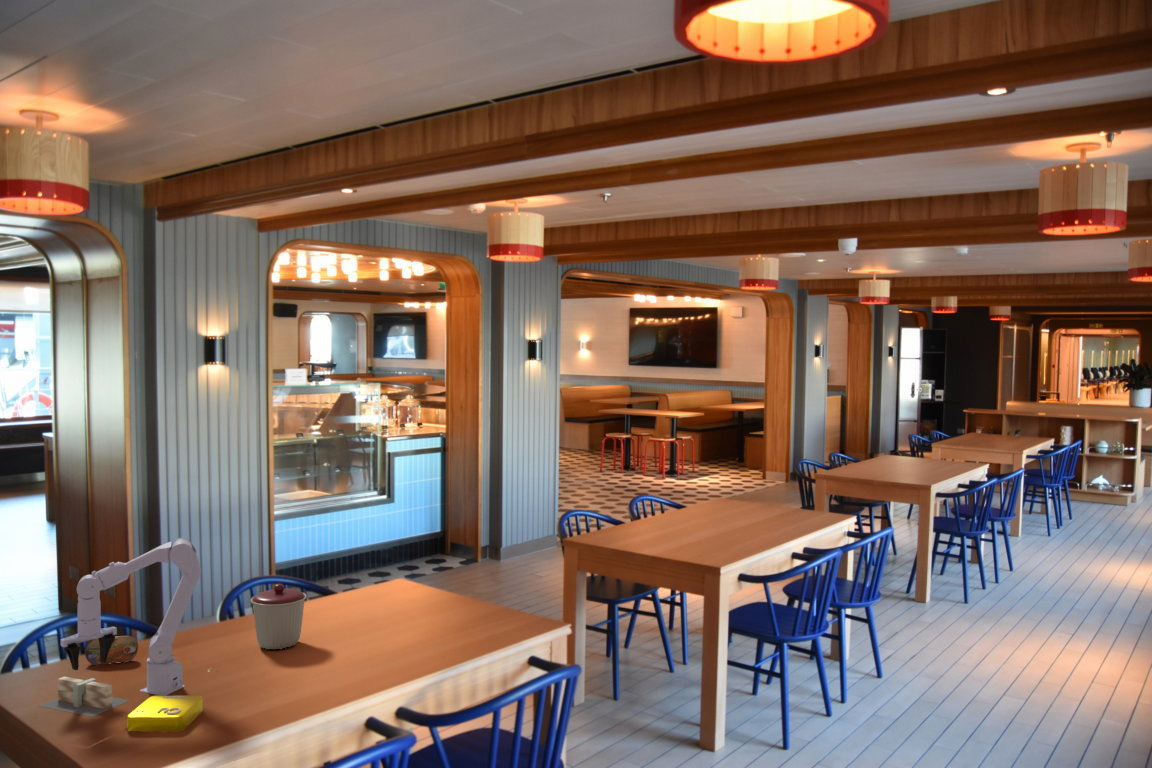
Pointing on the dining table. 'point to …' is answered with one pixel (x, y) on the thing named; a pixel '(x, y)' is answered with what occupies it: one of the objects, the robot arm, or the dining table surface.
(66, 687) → the birch notched plate
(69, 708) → the slate mat
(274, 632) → the canister
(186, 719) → the element tile
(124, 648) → the tin
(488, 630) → the dining table surface
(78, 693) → the sage slotted block
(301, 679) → the dining table surface
